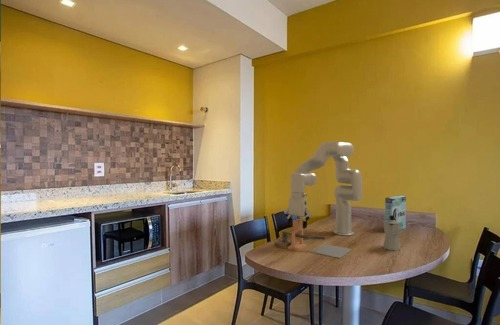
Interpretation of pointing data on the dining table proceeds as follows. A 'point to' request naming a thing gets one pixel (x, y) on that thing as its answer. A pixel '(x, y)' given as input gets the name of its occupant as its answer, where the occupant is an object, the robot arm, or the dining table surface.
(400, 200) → the gum box
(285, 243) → the stand
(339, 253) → the mat
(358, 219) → the dining table surface
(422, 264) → the dining table surface
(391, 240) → the coffee maker
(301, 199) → the robot arm
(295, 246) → the orange block
